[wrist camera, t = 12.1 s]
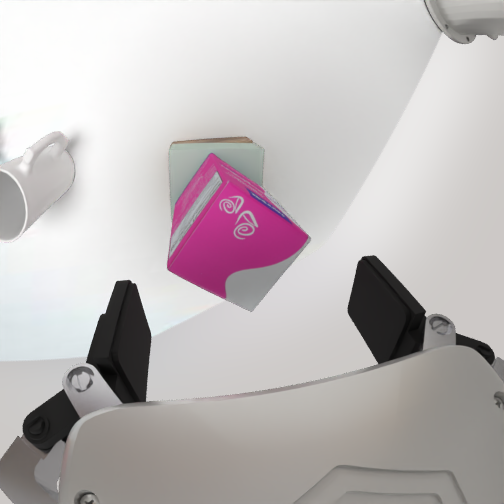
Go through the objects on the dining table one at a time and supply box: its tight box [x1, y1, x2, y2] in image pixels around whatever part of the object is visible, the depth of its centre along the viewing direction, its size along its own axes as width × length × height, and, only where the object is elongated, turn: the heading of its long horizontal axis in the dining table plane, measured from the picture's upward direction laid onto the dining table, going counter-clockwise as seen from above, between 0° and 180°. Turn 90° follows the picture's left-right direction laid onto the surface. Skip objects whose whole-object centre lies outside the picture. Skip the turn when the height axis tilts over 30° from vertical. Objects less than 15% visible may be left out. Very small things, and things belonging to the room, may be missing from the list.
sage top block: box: [169, 143, 264, 222], centre depth 26 cm, size 8×8×4 cm
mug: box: [0, 131, 75, 243], centre depth 21 cm, size 10×7×12 cm, turn 133°
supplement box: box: [167, 153, 311, 312], centre depth 20 cm, size 6×6×12 cm
